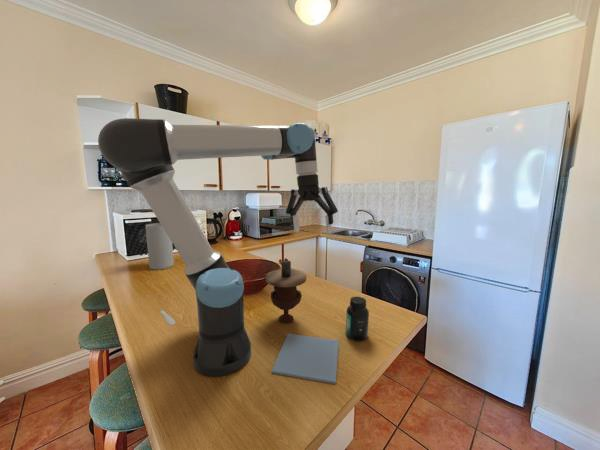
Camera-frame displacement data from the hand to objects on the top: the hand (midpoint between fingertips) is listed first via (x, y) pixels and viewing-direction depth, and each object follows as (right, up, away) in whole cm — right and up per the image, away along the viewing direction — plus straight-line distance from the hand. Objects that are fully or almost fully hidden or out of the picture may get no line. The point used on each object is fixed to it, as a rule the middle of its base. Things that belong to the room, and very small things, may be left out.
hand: (312, 232), depth 89 cm
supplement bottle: (+13, -33, -13) cm, 37 cm away
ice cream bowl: (-10, -31, -4) cm, 33 cm away
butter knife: (-58, -30, +1) cm, 65 cm away
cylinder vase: (-86, -22, +51) cm, 102 cm away
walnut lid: (-10, -16, -6) cm, 20 cm away
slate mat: (-2, -34, -23) cm, 41 cm away
